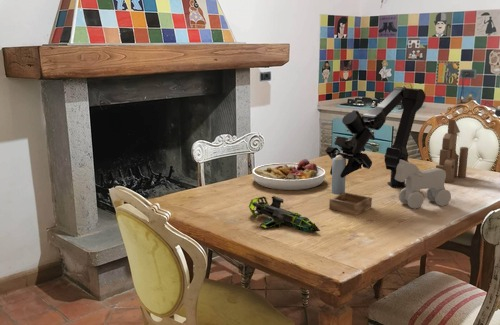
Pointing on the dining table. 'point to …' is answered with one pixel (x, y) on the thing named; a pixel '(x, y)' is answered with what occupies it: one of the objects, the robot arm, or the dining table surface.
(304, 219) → the aircraft
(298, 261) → the dining table surface
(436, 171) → the pony
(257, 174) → the bowl
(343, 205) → the square wooden tray
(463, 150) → the wooden toy
